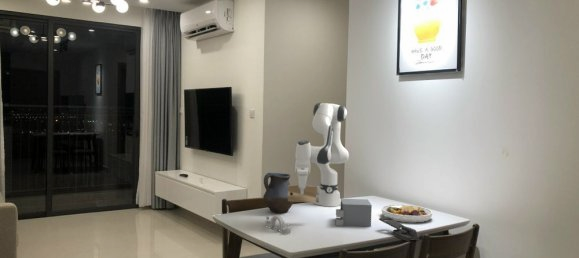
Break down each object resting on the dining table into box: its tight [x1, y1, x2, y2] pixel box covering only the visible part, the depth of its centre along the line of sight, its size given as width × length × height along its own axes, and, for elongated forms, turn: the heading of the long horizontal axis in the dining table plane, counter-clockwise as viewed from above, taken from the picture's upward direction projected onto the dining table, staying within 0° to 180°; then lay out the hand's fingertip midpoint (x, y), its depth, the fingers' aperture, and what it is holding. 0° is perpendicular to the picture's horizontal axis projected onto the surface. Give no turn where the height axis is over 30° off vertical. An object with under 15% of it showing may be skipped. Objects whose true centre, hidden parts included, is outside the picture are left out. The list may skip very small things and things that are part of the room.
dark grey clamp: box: [378, 216, 421, 242], centre depth 243 cm, size 9×7×25 cm
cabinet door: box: [288, 184, 320, 203], centre depth 262 cm, size 4×18×9 cm, turn 88°
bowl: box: [381, 204, 433, 224], centre depth 281 cm, size 30×30×8 cm
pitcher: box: [262, 172, 294, 214], centre depth 287 cm, size 21×22×25 cm
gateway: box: [264, 215, 292, 235], centre depth 246 cm, size 20×2×8 cm, turn 39°
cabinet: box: [335, 198, 373, 227], centre depth 265 cm, size 18×20×12 cm
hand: (302, 193), depth 263 cm, fingers closed on cabinet door, 2 cm apart
